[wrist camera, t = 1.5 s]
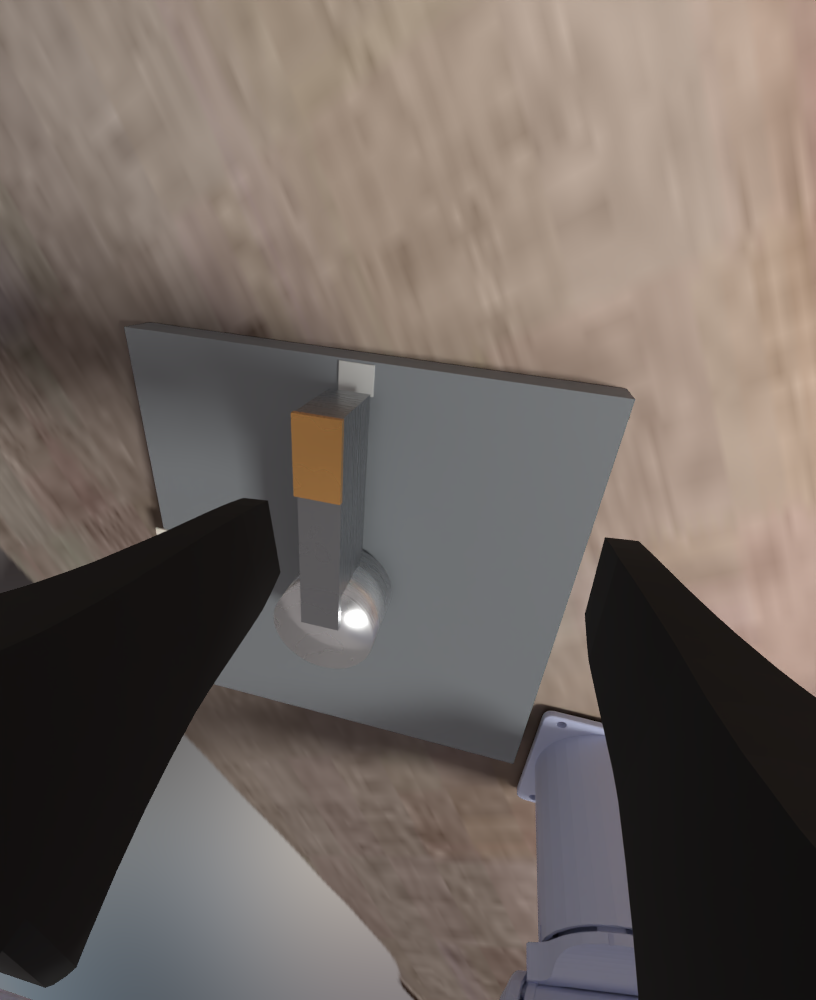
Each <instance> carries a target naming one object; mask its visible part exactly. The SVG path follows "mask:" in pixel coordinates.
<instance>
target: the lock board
mask: <svg viewBox="0 0 816 1000" xmlns="http://www.w3.org/2000/svg"><path fill="white" fill-rule="evenodd" d="M124 329H125V334H126V339H127V344H128V349H129V354H130V360H131V365H132V370H133V375H134V380H135V385H136V390H137V395H138V400H139V405H140V410H141V415H142V420H143V426H144V431H145V436H146V441H147V446H148V451H149V456H150V461H151V466H152V471H153V476H154V481H155V486H156V491H157V497H158V502H159V507H160V512H161V517H162V522H163V527H164V529H163V528H159V527H156V533H157V535H158V534H161V533H163V532H165V531H167V530H169V529H171V528H174V527H176V526H178V525H180V524H182V523H185V522H187V521H189V520H191V519H193V518H196V517H198V516H200V515H202V514H204V513H207V512H209V511H211V510H213V509H216V508H218V507H220V506H223V505H225V504H227V503H230V502H233V501H235V500H238V499H241V498H249V499H259V500H268V503H269V509H270V515H271V520H272V526H273V532H274V537H275V543H276V549H277V555H278V560H279V566H280V572H281V573H280V575H279V577H278V579H277V581H276V584H275V586H274V588H273V590H272V592H271V594H270V596H269V598H268V600H267V602H266V604H265V606H264V608H263V610H262V612H261V613H260V615H259V617H258V618H257V620H256V621H255V623H254V624H253V626H252V627H251V629H250V630H249V632H248V633H247V635H246V636H245V638H244V639H243V641H242V642H241V644H240V645H239V647H238V648H237V650H236V651H235V653H234V654H233V656H232V657H231V659H230V660H229V662H228V663H227V665H226V666H225V668H224V669H223V671H222V672H221V674H220V675H219V677H218V678H217V680H216V681H215V683H214V684H215V685H219V686H223V687H226V688H230V689H234V690H238V691H241V692H245V693H249V694H253V695H256V696H260V697H264V698H268V699H271V700H275V701H279V702H283V703H286V704H290V705H294V706H298V707H301V708H305V709H309V710H313V711H317V712H320V713H324V714H328V715H332V716H335V717H339V718H343V719H347V720H350V721H354V722H358V723H362V724H365V725H369V726H373V727H377V728H380V729H384V730H388V731H392V732H395V733H399V734H403V735H407V736H410V737H414V738H418V739H422V740H426V741H429V742H433V743H437V744H441V745H444V746H448V747H452V748H456V749H459V750H463V751H467V752H471V753H474V754H478V755H482V756H486V757H489V758H493V759H497V760H501V761H504V762H508V763H512V764H514V761H515V758H516V755H517V752H518V749H519V746H520V743H521V740H522V737H523V734H524V731H525V728H526V725H527V722H528V719H529V716H530V713H531V710H532V707H533V704H534V701H535V698H536V695H537V692H538V689H539V686H540V683H541V680H542V677H543V674H544V671H545V668H546V665H547V662H548V659H549V656H550V653H551V650H552V647H553V644H554V641H555V638H556V635H557V632H558V629H559V626H560V623H561V620H562V617H563V614H564V611H565V608H566V605H567V602H568V599H569V596H570V593H571V590H572V587H573V584H574V581H575V578H576V575H577V572H578V569H579V566H580V563H581V560H582V557H583V554H584V551H585V548H586V545H587V542H588V539H589V536H590V533H591V530H592V527H593V524H594V521H595V518H596V515H597V512H598V509H599V506H600V503H601V500H602V497H603V494H604V491H605V488H606V485H607V482H608V479H609V476H610V473H611V470H612V467H613V464H614V461H615V458H616V455H617V452H618V449H619V446H620V443H621V440H622V437H623V434H624V431H625V428H626V425H627V422H628V419H629V416H630V413H631V410H632V407H633V404H634V401H635V399H634V397H633V396H632V395H631V394H630V392H629V391H628V390H627V389H625V388H617V387H610V386H603V385H596V384H589V383H581V382H574V381H567V380H560V379H553V378H545V377H538V376H531V375H524V374H517V373H510V372H502V371H495V370H488V369H481V368H474V367H466V366H459V365H452V364H445V363H438V362H431V361H423V360H416V359H409V358H402V357H395V356H387V355H380V354H373V353H366V352H359V351H351V350H344V349H337V348H330V347H323V346H316V345H308V344H301V343H294V342H287V341H280V340H272V339H265V338H258V337H251V336H244V335H236V334H229V333H222V332H215V331H208V330H201V329H193V328H186V327H179V326H172V325H165V324H157V323H144V324H138V325H132V326H126V327H124ZM329 388H331V389H338V390H344V391H351V392H357V393H364V394H370V412H369V431H368V451H367V471H366V490H365V510H364V530H363V550H362V551H364V552H366V553H368V554H369V555H371V556H372V557H373V558H375V559H376V560H377V561H378V562H379V563H380V564H381V565H382V567H383V568H384V569H385V571H386V572H387V574H388V576H389V578H390V582H391V586H392V595H391V599H390V602H389V605H388V607H387V610H386V612H385V615H384V617H383V620H382V623H381V625H380V628H379V630H378V633H377V635H376V638H375V640H374V643H373V645H372V648H371V651H370V653H369V654H368V656H367V657H366V658H365V659H364V660H363V661H362V662H360V663H359V664H357V665H355V666H352V667H348V668H342V669H333V668H326V667H321V666H318V665H315V664H313V663H310V662H308V661H306V660H304V659H303V658H301V657H299V656H298V655H297V654H295V653H294V652H293V651H292V650H290V649H289V648H288V647H287V645H286V644H285V643H284V642H283V641H282V639H281V638H280V636H279V634H278V632H277V630H276V627H275V624H274V610H275V607H276V604H277V603H278V601H279V600H280V598H281V597H282V595H283V594H284V593H285V591H286V590H287V589H288V587H289V586H290V584H291V583H292V582H293V580H294V579H295V577H296V576H297V575H298V573H299V572H300V565H299V532H298V499H297V497H295V496H294V495H293V467H292V438H291V412H292V411H296V410H297V409H299V408H300V407H302V406H303V405H305V404H306V403H308V402H309V401H311V400H312V399H314V398H315V397H317V396H318V395H320V394H321V393H323V392H324V391H326V390H327V389H329Z"/></svg>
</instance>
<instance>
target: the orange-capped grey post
mask: <svg viewBox="0 0 816 1000" xmlns="http://www.w3.org/2000/svg"><path fill="white" fill-rule="evenodd" d="M369 412H370V394H364V393H357V392H351V391H344V390H338V389H331V388H329V389H327V390H326V391H324V392H323V393H321V394H320V395H318V396H317V397H315V398H314V399H312V400H311V401H309V402H308V403H306V404H305V405H303V406H302V407H300V408H299V409H297V410H296V411H292V412H291V438H292V467H293V495H294V496H295V497H297V499H298V532H299V565H300V572H299V573H298V575H297V576H296V577H295V579H294V580H293V582H292V583H291V584H290V586H289V587H288V589H287V590H286V591H285V593H284V594H283V595H282V597H281V598H280V600H279V601H278V603H277V604H276V607H275V610H274V624H275V627H276V630H277V632H278V634H279V636H280V638H281V639H282V641H283V642H284V643H285V644H286V645H287V647H288V648H289V649H290V650H292V651H293V652H294V653H295V654H297V655H298V656H299V657H301V658H303V659H304V660H306V661H308V662H310V663H313V664H315V665H318V666H321V667H326V668H333V669H342V668H348V667H352V666H355V665H357V664H359V663H360V662H362V661H363V660H364V659H365V658H366V657H367V656H368V654H369V653H370V651H371V648H372V645H373V643H374V640H375V638H376V635H377V633H378V630H379V628H380V625H381V623H382V620H383V617H384V615H385V612H386V610H387V607H388V605H389V602H390V599H391V595H392V586H391V582H390V578H389V576H388V574H387V572H386V571H385V569H384V568H383V567H382V565H381V564H380V563H379V562H378V561H377V560H376V559H375V558H373V557H372V556H371V555H369V554H368V553H366V552H364V551H362V550H363V530H364V510H365V490H366V471H367V451H368V431H369Z"/></svg>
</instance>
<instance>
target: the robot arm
mask: <svg viewBox="0 0 816 1000" xmlns="http://www.w3.org/2000/svg"><path fill="white" fill-rule="evenodd" d="M280 573H281V572H280V566H279V560H278V555H277V549H276V543H275V537H274V532H273V526H272V520H271V515H270V509H269V503H268V500H259V499H249V498H241V499H238V500H235V501H233V502H230V503H227V504H225V505H223V506H220V507H218V508H216V509H213V510H211V511H209V512H207V513H204V514H202V515H200V516H198V517H196V518H193V519H191V520H189V521H187V522H185V523H182V524H180V525H178V526H176V527H174V528H171V529H169V530H167V531H165V532H163V533H161V534H158V535H156V536H154V537H152V538H149V539H147V540H145V541H142V542H140V543H138V544H135V545H133V546H130V547H128V548H126V549H123V550H121V551H119V552H116V553H114V554H112V555H109V556H107V557H104V558H102V559H100V560H97V561H95V562H92V563H89V564H87V565H84V566H81V567H79V568H76V569H73V570H71V571H68V572H65V573H62V574H59V575H56V576H53V577H51V578H48V579H45V580H42V581H39V582H36V583H33V584H30V585H27V586H24V587H21V588H17V589H14V590H10V591H7V592H3V593H0V972H1V973H4V974H7V975H10V976H13V977H16V978H19V979H22V980H24V981H27V982H30V983H33V984H36V985H39V986H42V987H45V988H46V987H48V986H51V985H54V984H55V983H57V982H58V981H60V980H61V979H63V978H64V977H66V976H67V975H68V974H69V973H70V972H72V971H73V970H74V969H75V968H76V967H77V964H78V962H79V959H80V956H81V954H82V952H83V949H84V947H85V944H86V942H87V939H88V937H89V934H90V932H91V930H92V928H93V925H94V923H95V921H96V918H97V916H98V913H99V911H100V909H101V906H102V904H103V901H104V899H105V897H106V895H107V892H108V890H109V888H110V885H111V883H112V881H113V878H114V876H115V874H116V871H117V869H118V866H119V865H120V863H121V860H122V858H123V856H124V854H125V852H126V850H127V847H128V845H129V843H130V841H131V839H132V837H133V835H134V832H135V830H136V828H137V826H138V824H139V821H140V819H141V817H142V815H143V813H144V811H145V809H146V807H147V805H148V803H149V801H150V799H151V797H152V795H153V793H154V791H155V789H156V787H157V785H158V783H159V781H160V779H161V777H162V775H163V773H164V771H165V769H166V767H167V765H168V763H169V761H170V759H171V757H172V755H173V753H174V751H175V750H176V748H177V746H178V744H179V742H180V740H181V738H182V736H183V735H184V733H185V731H186V729H187V727H188V725H189V723H190V722H191V720H192V718H193V716H194V714H195V713H196V711H197V709H198V708H199V706H200V704H201V703H202V701H203V700H204V698H205V696H206V695H207V693H208V692H209V690H210V689H211V687H212V686H213V684H214V683H215V681H216V680H217V678H218V677H219V675H220V674H221V672H222V671H223V669H224V668H225V666H226V665H227V663H228V662H229V660H230V659H231V657H232V656H233V654H234V653H235V651H236V650H237V648H238V647H239V645H240V644H241V642H242V641H243V639H244V638H245V636H246V635H247V633H248V632H249V630H250V629H251V627H252V626H253V624H254V623H255V621H256V620H257V618H258V617H259V615H260V613H261V612H262V610H263V608H264V606H265V604H266V602H267V600H268V598H269V596H270V594H271V592H272V590H273V588H274V586H275V584H276V581H277V579H278V577H279V575H280ZM585 622H586V636H587V648H588V658H589V664H590V669H591V674H592V679H593V683H594V688H595V693H596V697H597V702H598V706H599V711H600V715H601V720H602V723H601V722H597V721H593V720H589V719H585V718H581V717H576V716H572V715H568V714H564V713H560V712H556V711H547V712H545V713H544V714H543V716H542V719H541V721H540V724H539V727H538V730H537V733H536V736H535V738H534V741H533V744H532V747H531V750H530V752H529V755H528V758H527V761H526V764H525V767H524V769H523V772H522V775H521V778H520V781H519V783H518V786H517V795H518V796H519V797H520V798H522V799H524V800H528V801H532V802H535V803H536V846H537V891H538V936H539V942H528V943H527V971H523V970H518V971H515V972H514V973H513V974H512V976H511V977H510V979H509V981H508V984H507V986H506V988H505V989H504V991H503V993H502V994H501V997H500V1000H816V697H814V696H813V695H812V694H810V693H809V692H808V691H806V690H805V689H804V688H802V687H801V686H800V685H798V684H797V683H796V682H794V681H793V680H792V679H790V678H789V677H788V676H787V675H785V674H784V673H783V672H782V671H780V670H779V669H778V668H777V667H775V666H774V665H773V664H772V663H770V662H769V661H768V660H767V659H766V658H764V657H763V656H762V655H761V654H760V653H758V652H757V651H756V650H755V649H754V648H753V647H751V646H750V645H749V644H748V643H747V642H746V641H744V640H743V639H742V638H741V637H740V636H738V635H737V634H736V633H735V632H734V631H733V630H732V629H730V628H729V627H728V626H727V625H726V624H725V623H724V622H723V621H722V620H720V619H719V618H718V617H717V616H716V615H715V614H714V613H713V612H712V611H711V610H709V609H708V608H707V607H706V606H705V605H704V604H703V603H702V602H701V601H700V600H699V599H698V598H697V597H696V596H695V595H694V594H692V593H691V592H690V591H689V590H688V589H687V588H686V587H685V586H684V585H683V584H682V583H681V582H680V581H679V580H678V579H677V578H676V577H675V576H674V575H673V574H672V573H671V572H670V571H669V570H668V569H667V568H666V567H665V566H664V565H663V564H662V563H661V562H660V561H659V560H658V559H657V558H656V557H655V556H654V555H653V554H652V553H651V552H650V551H648V550H647V549H646V548H645V547H644V546H643V545H642V544H641V543H640V542H639V541H633V540H624V539H615V538H606V537H605V540H604V544H603V547H602V551H601V555H600V559H599V563H598V566H597V570H596V574H595V578H594V582H593V586H592V589H591V593H590V597H589V601H588V605H587V608H586V612H585ZM0 1000H31V999H28V998H25V997H23V996H19V995H17V994H14V993H11V992H8V991H5V990H2V989H0Z"/></svg>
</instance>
